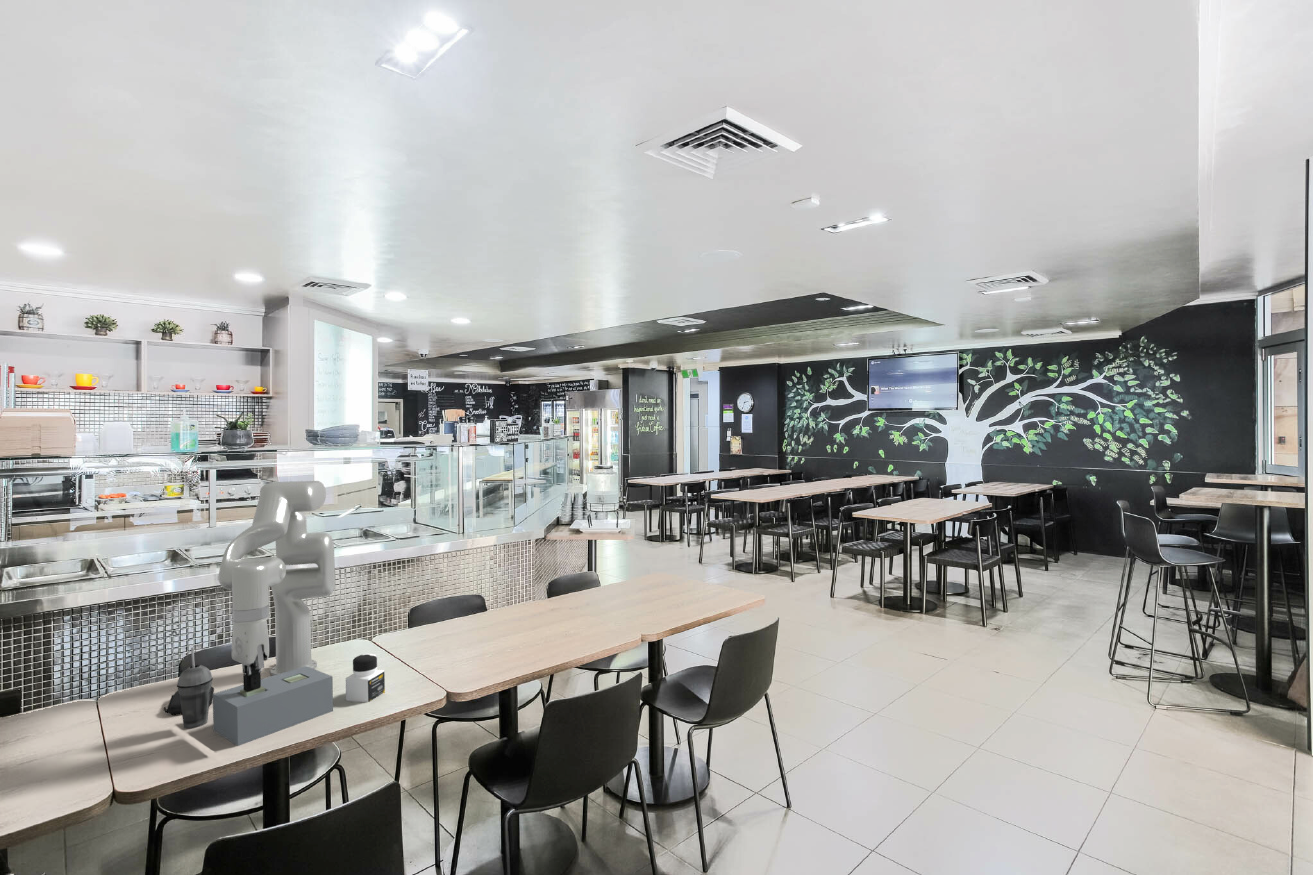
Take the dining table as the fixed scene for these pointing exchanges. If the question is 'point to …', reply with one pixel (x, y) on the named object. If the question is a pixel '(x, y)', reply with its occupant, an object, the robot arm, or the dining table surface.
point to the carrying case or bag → (175, 703)
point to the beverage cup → (195, 694)
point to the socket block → (272, 705)
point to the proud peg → (251, 692)
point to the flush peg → (294, 678)
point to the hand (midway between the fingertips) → (252, 689)
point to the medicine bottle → (365, 679)
